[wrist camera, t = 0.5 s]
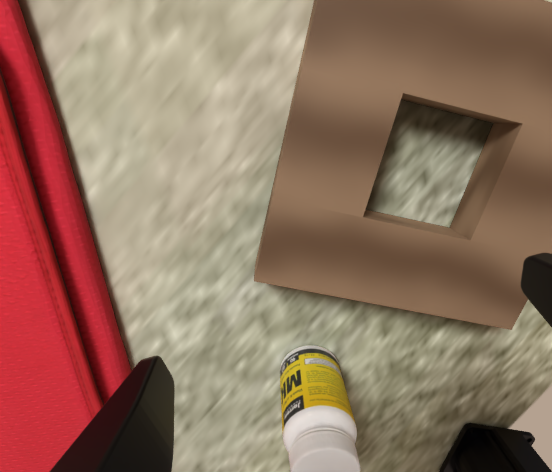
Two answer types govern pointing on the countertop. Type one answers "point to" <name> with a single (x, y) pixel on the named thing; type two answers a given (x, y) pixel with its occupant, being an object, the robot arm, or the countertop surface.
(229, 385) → the countertop surface
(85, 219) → the red folded cloth
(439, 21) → the socket board
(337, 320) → the countertop surface
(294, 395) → the supplement bottle
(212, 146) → the countertop surface
